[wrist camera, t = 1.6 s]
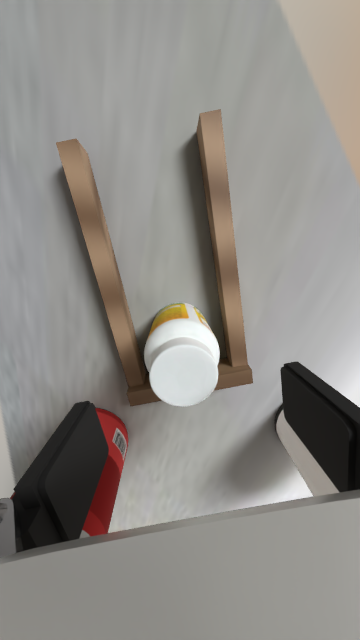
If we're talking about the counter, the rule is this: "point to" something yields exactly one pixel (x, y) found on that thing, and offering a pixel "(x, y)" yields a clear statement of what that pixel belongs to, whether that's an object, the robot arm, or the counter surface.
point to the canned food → (107, 475)
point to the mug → (303, 458)
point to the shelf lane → (107, 273)
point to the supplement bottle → (181, 356)
